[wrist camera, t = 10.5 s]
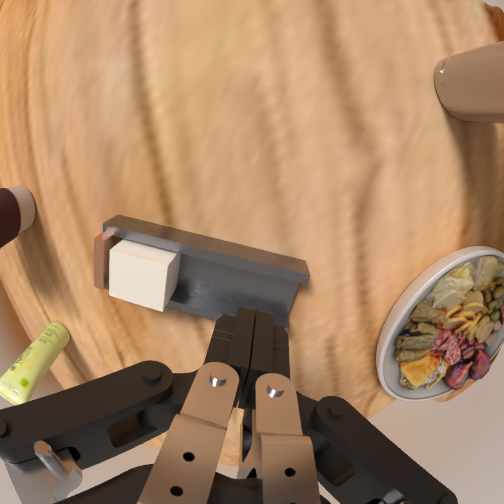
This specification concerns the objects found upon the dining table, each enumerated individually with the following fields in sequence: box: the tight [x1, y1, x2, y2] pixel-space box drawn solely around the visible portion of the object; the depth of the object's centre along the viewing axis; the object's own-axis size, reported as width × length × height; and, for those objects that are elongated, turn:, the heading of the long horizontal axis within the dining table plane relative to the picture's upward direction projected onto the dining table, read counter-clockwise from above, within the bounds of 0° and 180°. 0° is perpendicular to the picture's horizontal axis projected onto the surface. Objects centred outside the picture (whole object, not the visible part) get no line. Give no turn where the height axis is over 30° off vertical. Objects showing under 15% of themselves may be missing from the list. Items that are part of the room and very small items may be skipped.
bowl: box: [376, 246, 504, 402], centre depth 35 cm, size 30×30×8 cm
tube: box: [0, 321, 70, 405], centre depth 34 cm, size 6×5×20 cm
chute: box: [94, 215, 310, 333], centre depth 34 cm, size 25×9×6 cm, turn 76°
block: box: [109, 239, 182, 312], centre depth 33 cm, size 7×6×6 cm
